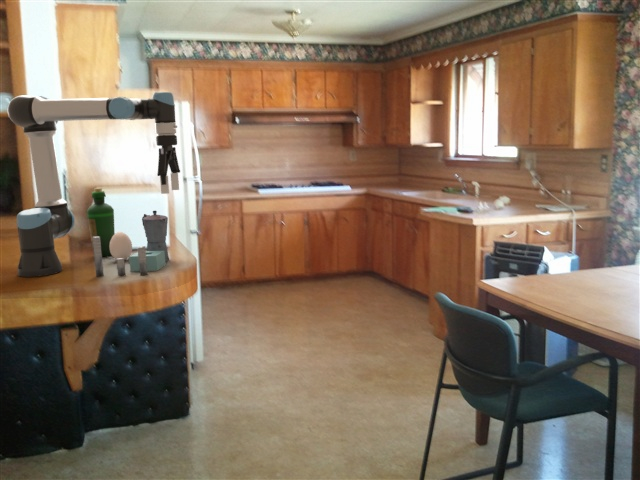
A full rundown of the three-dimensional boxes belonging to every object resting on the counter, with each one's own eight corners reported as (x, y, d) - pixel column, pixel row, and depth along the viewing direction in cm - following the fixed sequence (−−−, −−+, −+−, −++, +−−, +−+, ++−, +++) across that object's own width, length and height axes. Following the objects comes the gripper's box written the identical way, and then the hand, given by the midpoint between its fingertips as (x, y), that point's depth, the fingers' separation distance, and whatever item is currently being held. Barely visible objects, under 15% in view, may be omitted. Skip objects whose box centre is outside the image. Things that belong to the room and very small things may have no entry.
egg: (106, 261, 256) (103, 232, 254) (124, 257, 263) (122, 229, 261) (119, 263, 251) (116, 234, 249) (138, 259, 257) (135, 231, 255)
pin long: (94, 276, 229) (90, 237, 226) (97, 275, 231) (93, 236, 229) (102, 276, 229) (98, 237, 226) (104, 274, 231) (101, 236, 229)
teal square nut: (130, 271, 235) (129, 256, 234) (139, 265, 245) (138, 251, 244) (157, 270, 235) (156, 255, 234) (165, 264, 244) (164, 250, 243)
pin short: (116, 276, 228) (115, 259, 227) (119, 274, 231) (118, 258, 230) (124, 276, 228) (122, 259, 227) (126, 274, 231) (125, 257, 230)
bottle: (98, 252, 275) (92, 187, 270) (122, 252, 274) (116, 186, 269) (86, 258, 265) (79, 190, 260) (110, 257, 263) (104, 189, 259)
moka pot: (159, 265, 244) (155, 212, 241) (134, 261, 254) (129, 210, 250) (179, 260, 252) (175, 209, 248) (153, 257, 261) (149, 207, 258)
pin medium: (139, 275, 228) (136, 247, 226) (141, 273, 230) (138, 246, 228) (146, 275, 227) (143, 247, 226) (148, 273, 230) (146, 246, 228)
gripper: (166, 134, 228) (171, 194, 231) (184, 134, 252) (188, 188, 256) (145, 135, 228) (150, 195, 232) (166, 134, 252) (170, 188, 256)
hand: (170, 191), depth 244 cm, fingers open, 13 cm apart
